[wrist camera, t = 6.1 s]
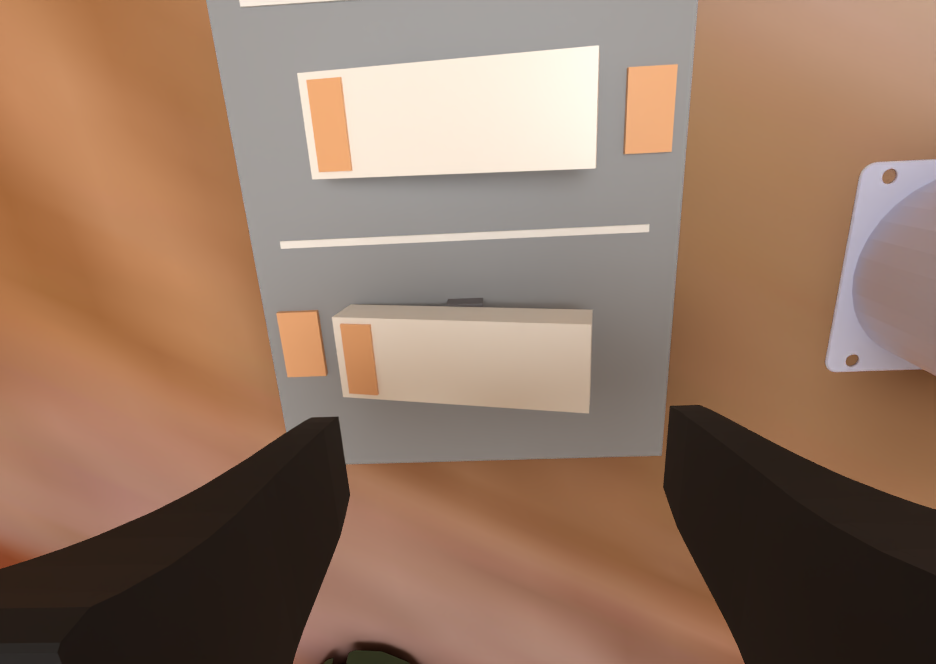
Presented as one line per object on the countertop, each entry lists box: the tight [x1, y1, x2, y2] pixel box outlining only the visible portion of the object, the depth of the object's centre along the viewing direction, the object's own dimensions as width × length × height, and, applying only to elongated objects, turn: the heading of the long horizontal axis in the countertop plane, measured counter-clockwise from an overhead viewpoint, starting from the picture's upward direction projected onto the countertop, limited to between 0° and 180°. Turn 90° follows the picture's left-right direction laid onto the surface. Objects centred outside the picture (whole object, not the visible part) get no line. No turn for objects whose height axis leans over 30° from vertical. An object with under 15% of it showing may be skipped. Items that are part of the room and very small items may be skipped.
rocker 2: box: [332, 304, 593, 413], centre depth 17 cm, size 8×3×2 cm, turn 93°
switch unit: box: [206, 0, 698, 464], centre depth 17 cm, size 14×24×3 cm, turn 3°
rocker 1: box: [297, 45, 600, 179], centre depth 15 cm, size 8×3×2 cm, turn 93°
